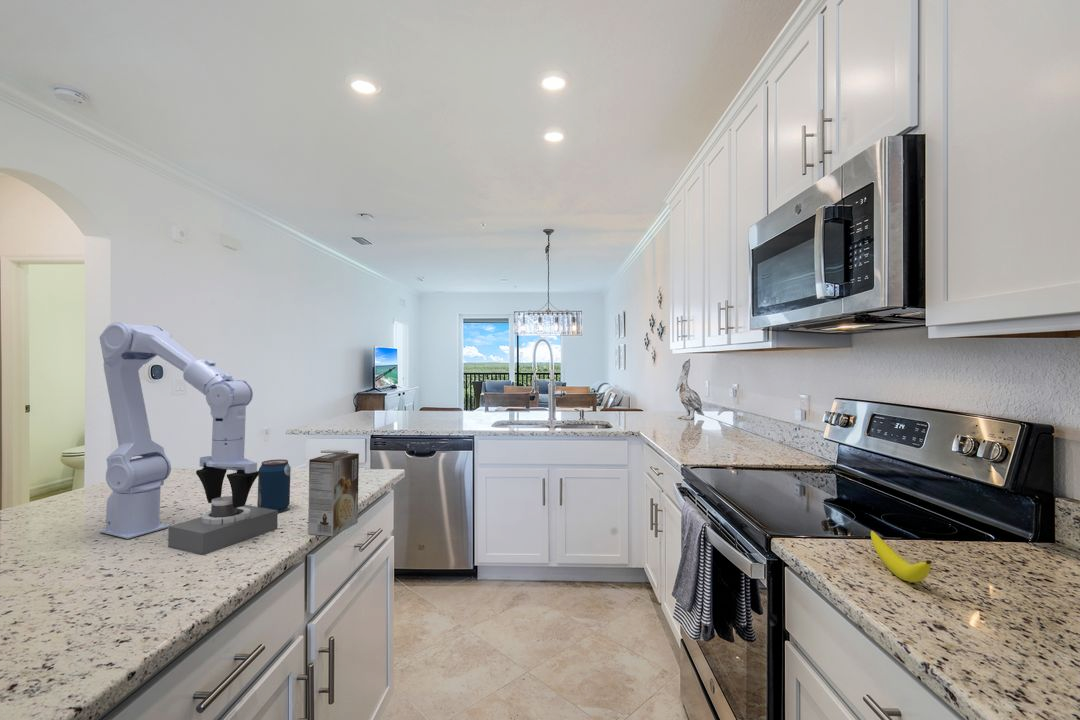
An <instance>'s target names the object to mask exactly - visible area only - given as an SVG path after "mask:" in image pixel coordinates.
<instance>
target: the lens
mask: <svg viewBox="0 0 1080 720" xmlns="http://www.w3.org/2000/svg"><path fill="white" fill-rule="evenodd" d="M210 504H211V508H210V509H211V510H210V511H211V517H214V518H219V517H229V516H234V515H237V508H234V507H233V503H232V495H225V496H221V497H218V498H215V499H212V502H211V503H210ZM222 524H223V523H222Z"/></svg>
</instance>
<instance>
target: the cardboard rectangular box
mask: <svg viewBox="0 0 1080 720" xmlns="http://www.w3.org/2000/svg"><path fill="white" fill-rule="evenodd" d="M359 456H360V453H355V452H354V453H353V452H352V453H351V452H333V453H329V454H324V455H321V456H318V457H314V458H311V459H309V460H308V461H309V462H308V463H309V465H308V466H309V468H308V471H309V473H308V519H307V520H308V521H307V524H308V525H307V534H308V535H315V536H326V537H335V536H337V535H339V534H340V533H342V532H344V531H345V530H348V529H349V528H351V527H352V526H355V525H357V524H358V523H359V522H358V519H359V517H358V516H359V473H360V471H359V469H360V467H359V466H360V465H359V462H360V459H359V458H360V457H359Z"/></svg>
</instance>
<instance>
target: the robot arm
mask: <svg viewBox="0 0 1080 720" xmlns="http://www.w3.org/2000/svg"><path fill="white" fill-rule="evenodd" d="M98 338H99V342H100V343H99V344H100V348H101V353H102V359H103V372H104V376H105V381H106V386H107V387H106V388H107V392H108V396H109V403H110V407H111V408H110V409H111V413H112V417H113V423H114V428H115V433H116V438H117V444H118V445H117V446H118V447H117V448H116V449H115V450H114V451H112V453H110V454H109V455H108V456H107V458H106V465H107V468H106V472H105V482H106V483H107V485H108V487H109V488H110V489H111V490H112V492H111V493H110V495H109V496H108V498H107V500H106V509H105V511H106V512H105V513H106V516H105V528H102V529H100V533H102V534H106V535H110V536H114V537H117V538H118V537H119V538H123V539H127V540H128V539H132V538H135V537H138V536H142V535H145V534H150V533H152V532H153V533H154V532H157V531H160V530H164V529H167V528H168V529H169V526H170V525H169V524H166V523H163V522H160V521H161V520H160V519H161V518H160V516H161V492H162V491H161V487H162V486H164V485H165V483H164V482H165V481H166V480H167V479H168V477H170V474H171V472H172V471H171V470H172V464H171V461H170V459H169V458H168V457H167V455H166V453H165V448H164V447H163V446H162V445H160V444H159V443H157V442H156V441H154V440H152V435H151V430H150V426H149V419H148V414H147V410H146V404H145V400H144V393H143V388H142V383H141V378H140V373H139V372H140V371H139V370H141V368H142V367H143V365H146V364H148V363H149V362H151V361H152V360H153V359H154V358H156V357H157V356H158V357H160V358H161V359H162V360H165V361H166V362H167V363H169V364H171V365H172V366H174V367H175V368H177V369H179V370H180V371H182V372H183V375H182V377H183V380H184V381H185V382H187V383H188V384H189V385H190V386H192V387H193V388H194V389H196V390H197V391H199V392H200V393H201V394H202V395H204V396H205V401H206V403H207V404H208V406H209V407H210V416H211V418H212V430H211V431H212V432H211V433H212V434H211V435H212V436H211V455H207V456H201V457H199V467H201V469H197V470H195V474H196V476H197V477H198V479H199V480H200V482H201V484H202V486H203V489H204V492H205V496H206V497H205V498H206V501H207V504H211V502H212V499H215V498H218V497H222V491H223V483H224V479H225V476H226V478H227V479H228V482H229V485H230V489H231V496H232V503H233V507H234V508H238V507H242V506H245V505H247V500H248V497H249V494H250V491H251V488H252V487H253V484H254V483H255V481H256V479H258V475H259V470H258V462H257V461H252V460H250V459H247V458H245V443H246V442H245V440H246V416H247V415H246V414H247V413H246V412H247V411H246V409H247V406H248V405H249V404H250V403H251V402H252V400H253V397H254V392H253V388H252V386H251V385H250V384H249V383H248V382H247V380H244V379H235V378H233V376H232V375H231V374H230V373H226V372H225V371H223V370H222V369H220V368H219V367H218V366H216V364H217V362H216V361H214V360H212V359H203V358H202V359H201V358H200V359H197V358H196V357H195V356H194V355H192V354H191V353H190V352H189V351H188V350H187V349H185V348H184V347H183V346H182V345H180V343H178V342H177V341H176V340H175V339H173V337H172V334H171V332H169V331H167V330H165V329H164V328H163V327H161V326H159V325H143V324H132V323H124V322H120V321H119V322H118V321H114V322H112V323H110V324H109V325H107V326H106V328H105V329H104V330H103V331H102V333H101V334H100V335H99V337H98ZM133 457H136V458H133ZM228 470H230V471H236V472H233V473H232V472H231V473H228V474H227V471H228Z"/></svg>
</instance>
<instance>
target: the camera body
mask: <svg viewBox="0 0 1080 720" xmlns="http://www.w3.org/2000/svg"><path fill="white" fill-rule="evenodd" d="M278 514H279V513H278V510H273V509H267V508H262V507H257V505H249V504H245V506H242V507H238V508H237V515H234V516H229V517H219V518H214V517H211V510H209V511H206V512H204V513H203V514H201V515H200V516H201V517H200V516H199V517H197V518H193V519H190V520H186V521H183V522H179V523H175V524H172V525H169V527H168V537H167V538H168V540H167V541H168V542H167V547H168V548H171V549H176V550H180V551H184V552H188V553H192V554H197V555H202V556H203V555H206V554H207V555H208V554H209V553H212V552H215V551H218V550H221V549H223V548H227V547H229V546H232V545H234V544H235V545H236V544H238V543H240V542H244V541H246V540H249V539H252V538H254V537H257V536H260V535H264V534H266V533H269V532H271V531H274V530H277V529H278V517H279V516H278ZM222 523H223V524H222Z"/></svg>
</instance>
